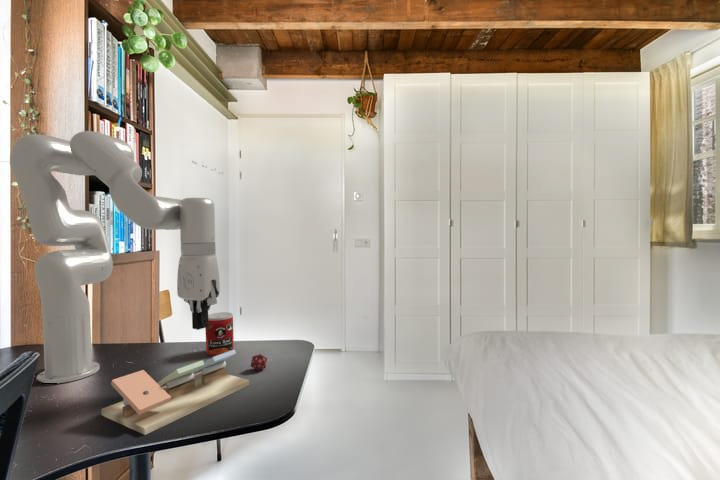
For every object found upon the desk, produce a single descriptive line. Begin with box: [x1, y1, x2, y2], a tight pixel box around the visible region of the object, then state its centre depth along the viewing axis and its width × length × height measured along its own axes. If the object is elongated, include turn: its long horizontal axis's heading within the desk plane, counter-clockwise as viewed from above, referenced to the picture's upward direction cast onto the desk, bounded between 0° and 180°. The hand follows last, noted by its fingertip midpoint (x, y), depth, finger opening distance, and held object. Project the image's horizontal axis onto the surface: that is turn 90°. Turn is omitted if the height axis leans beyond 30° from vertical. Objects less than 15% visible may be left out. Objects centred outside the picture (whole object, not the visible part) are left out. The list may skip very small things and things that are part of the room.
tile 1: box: [110, 369, 171, 415], centre depth 73 cm, size 10×6×2 cm, turn 60°
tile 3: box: [192, 348, 237, 375], centre depth 88 cm, size 10×6×2 cm, turn 58°
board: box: [100, 366, 250, 436], centre depth 80 cm, size 15×24×3 cm, turn 149°
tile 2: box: [156, 359, 205, 389], centre depth 80 cm, size 10×6×2 cm, turn 58°
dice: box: [250, 353, 268, 371], centre depth 96 cm, size 4×4×4 cm
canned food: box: [204, 311, 235, 357], centre depth 111 cm, size 8×8×11 cm
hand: (200, 327), depth 89 cm, fingers closed
